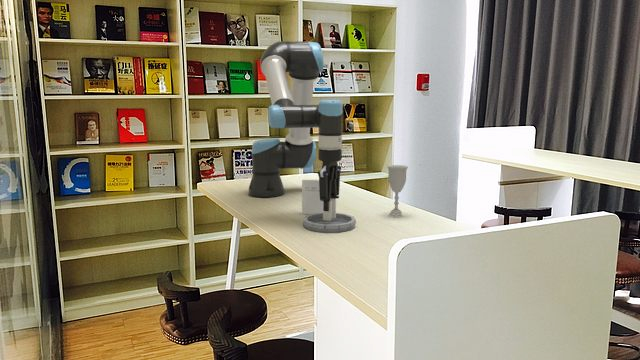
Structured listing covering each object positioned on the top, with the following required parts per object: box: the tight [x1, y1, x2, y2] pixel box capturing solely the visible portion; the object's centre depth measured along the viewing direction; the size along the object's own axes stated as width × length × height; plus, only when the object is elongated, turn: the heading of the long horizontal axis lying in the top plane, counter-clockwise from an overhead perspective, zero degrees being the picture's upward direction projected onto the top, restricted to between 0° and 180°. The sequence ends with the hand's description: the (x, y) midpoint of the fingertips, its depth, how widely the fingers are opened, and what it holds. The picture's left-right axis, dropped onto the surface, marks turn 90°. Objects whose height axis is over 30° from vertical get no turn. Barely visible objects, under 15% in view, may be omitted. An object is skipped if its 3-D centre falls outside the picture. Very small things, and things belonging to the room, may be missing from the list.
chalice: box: [387, 164, 409, 219], centre depth 187 cm, size 7×7×18 cm
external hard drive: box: [301, 178, 323, 215], centre depth 191 cm, size 2×8×12 cm, turn 83°
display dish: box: [302, 212, 357, 234], centre depth 176 cm, size 17×17×2 cm
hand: (329, 218), depth 176 cm, fingers open, 3 cm apart
